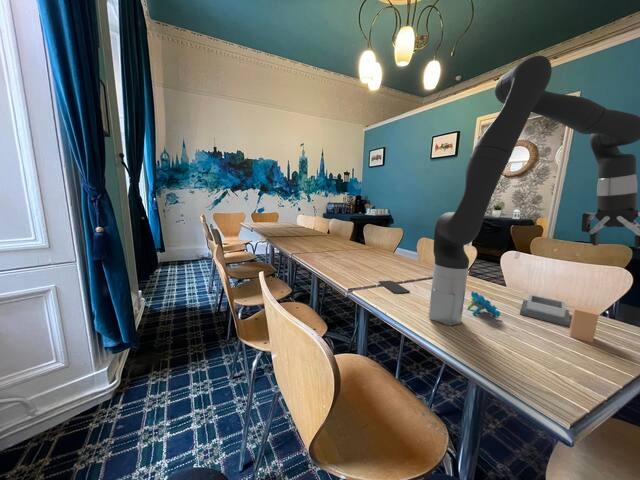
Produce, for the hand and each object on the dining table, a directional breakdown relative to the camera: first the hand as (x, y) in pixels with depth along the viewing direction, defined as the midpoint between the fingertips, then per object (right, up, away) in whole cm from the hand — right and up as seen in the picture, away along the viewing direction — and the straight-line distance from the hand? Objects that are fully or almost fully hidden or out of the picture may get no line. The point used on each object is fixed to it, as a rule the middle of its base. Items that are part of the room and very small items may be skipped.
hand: (615, 246), depth 75 cm
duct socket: (-13, -23, +10) cm, 28 cm away
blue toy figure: (-35, -23, +8) cm, 43 cm away
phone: (-58, -19, +32) cm, 68 cm away
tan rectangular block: (-15, -25, -4) cm, 30 cm away
